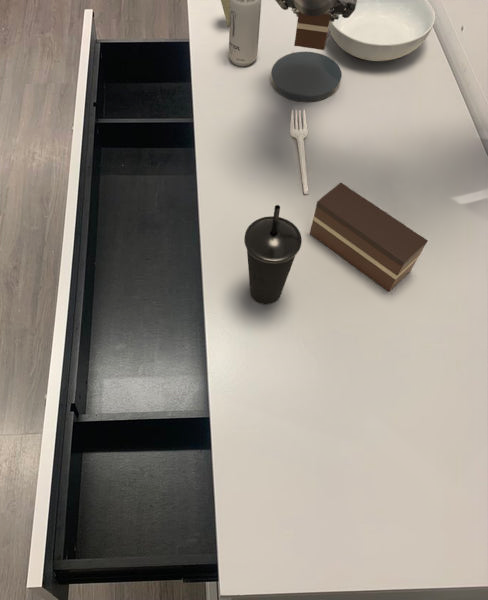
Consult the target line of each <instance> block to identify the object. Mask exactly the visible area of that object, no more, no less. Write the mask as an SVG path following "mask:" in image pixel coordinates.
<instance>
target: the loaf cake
mask: <svg viewBox="0 0 488 600" xmlns="http://www.w3.org/2000/svg"><path fill="white" fill-rule="evenodd" d="M309 230H310V231H309V234H310V235H311V236H312V237H314V238H315V239H317V240H318V241H319V242H321V243H322V244H323V245H324V246H326V247H328V248H329V249H330V250H331V251H333V252H334V253H335V254H337V255H338V256H340V257H341V258H342V259H343V260H344V261H346V262H348V263H349V264H350V265H352V267H354V268H356V269H357V270H358V271H360V272H361V273H363V274H364V275H365V276H366V277H368V278H369V279H371V280H372V281H373V282H374V283H376V284H377V285H379V286H380V287H381V288H382V289H384V290H385V291H387V292H388V293H390V292H391V291H392V290H393V289H394V288H395V287H396V286H397V285H398V284H399V283H400V282H401V281H402V280H403V279H404V278H405V277H406V276H407V275H409V273H410V272H411V271H412V269H413V268H414V266H415V264H416V262H417V261H418V259H419V257H420V255H421V253H422V252H423V250H424V248H425V246H426V245H427V243H428V240H427V239H426V238H424V237H423V236H422V235H421V234H419V233H418V232H416V231H414V230H413V229H412V228H410V227H408V226H407V225H405V224H404V223H402V222H401V221H400V220H398V219H397V218H395V217H394V216H392V215H390V214H389V213H387V212H386V211H384V210H383V209H382V208H380V207H378V206H377V205H375V204H374V203H372V202H371V201H369V200H368V199H367V198H365V197H363V196H361V194H359V193H357V192H356V191H355V190H353V189H351V188H350V187H348V186H347V185H346V184H344V183H343V182H340V183H338V184H337V185H335V186H334V187H333V188H332V189H331V190H330V191H328V192H327V193H325V195H323V196H322V197H320V199H318V200H317V201H316V206H315V210H314V214H313V218H312V223H311V226H310V229H309Z"/></svg>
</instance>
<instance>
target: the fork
mask: <svg viewBox="0 0 488 600" xmlns="http://www.w3.org/2000/svg"><path fill="white" fill-rule="evenodd" d="M302 113H303V114H302ZM302 115H303V116H302ZM294 116H295V117H294ZM306 116H307V115H306V109H303V112H302V110H301V109H299V111H298V109H295V115H294V109H292V110H291V115H290V126H289V127H290V128H289V135H290V137H292V138H295V139H296V140H297V147H298V148H297V149H298V155H299V156H298V157H299V164H300V165H299V166H300V173H301V181H302V189H303V194H304V195H308V194H309V186H308V185H309V184H308V177H307V174H308V173H307V165H306V163H307V162H306V153H305V143H304V142H305V141H304V139H306V137H308V136H309V132H308V124H307V117H306ZM294 118H295V119H294ZM294 121H295V122H294Z"/></svg>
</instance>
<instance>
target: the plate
mask: <svg viewBox="0 0 488 600" xmlns="http://www.w3.org/2000/svg"><path fill="white" fill-rule="evenodd" d="M270 73H271V74H270V82H271V85H272V87H273V89H274V90H275V91H276V92H277V93H278V94H279V95H280V96H282V97H284V98H286V99H288V100H291V101H294V102H300V103H313V102H319V101H323V100H326V99H328V98H330V97H331V96H333V95H334V94H335V93H336V92H337V91H338V89H339V87H340V85H341V81H342V77H343V76H342V74H343V73H342V70H341V67H340V66H339V65H338V63H337V62H336V61H335V60H333V59H332V58H331V57H329V56H328V55H324V54H322V53H319V52H314V51H296V52H292V53H288V54H285V55H284V56H282V57H280V58H278V60H277V61H275V63H274V64H273V65H272V68H271V72H270Z"/></svg>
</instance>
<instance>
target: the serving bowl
mask: <svg viewBox="0 0 488 600" xmlns="http://www.w3.org/2000/svg"><path fill="white" fill-rule="evenodd" d="M435 22H436V13H435V10H434V7H433V6H432V4H431V3H430V2H429V1H428V0H357V4H356V8H355V10H354V12H353V13H352V14H351V15H350V16H349V17H348V18H344V17H342V14H341V15H339V19H335V20H334V22H332V21H331V24H330V29H329V33H330V35H331V37H332V39H333V40H334V42H335V43H336V44H337V46H339V47H340V48H341V49H342V50H343V51H345V52H346V53H348V54H349V55H351V56H353V57H356V58H359V59H362V60H365V61H372V62H385V61H392V60H396V59H399V58H402V57H405V56H406V55H408V54H410V53H412V52H415V50H416V49H418V48H419V47H420V46H421V45H422V44H423V43H425V41H426V39H427V38H428V36H429V35H430V33H431V31H432V30H433V28H434V25H435Z"/></svg>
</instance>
